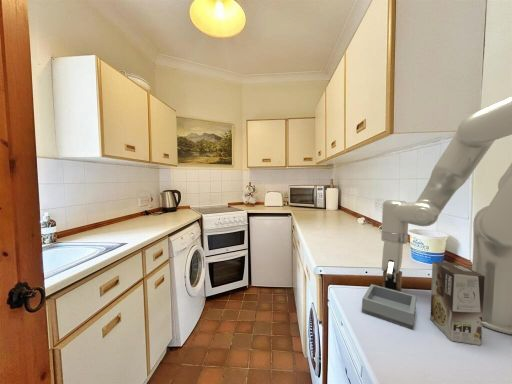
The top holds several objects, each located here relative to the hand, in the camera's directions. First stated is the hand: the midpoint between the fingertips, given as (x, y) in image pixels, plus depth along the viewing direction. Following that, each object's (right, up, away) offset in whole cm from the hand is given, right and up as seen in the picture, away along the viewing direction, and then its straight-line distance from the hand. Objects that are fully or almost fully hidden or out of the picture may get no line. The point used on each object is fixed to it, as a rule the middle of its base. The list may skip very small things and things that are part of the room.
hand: (391, 288), depth 76 cm
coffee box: (+3, -2, -20) cm, 21 cm away
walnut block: (0, -1, 0) cm, 1 cm away
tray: (-8, -1, -12) cm, 14 cm away
